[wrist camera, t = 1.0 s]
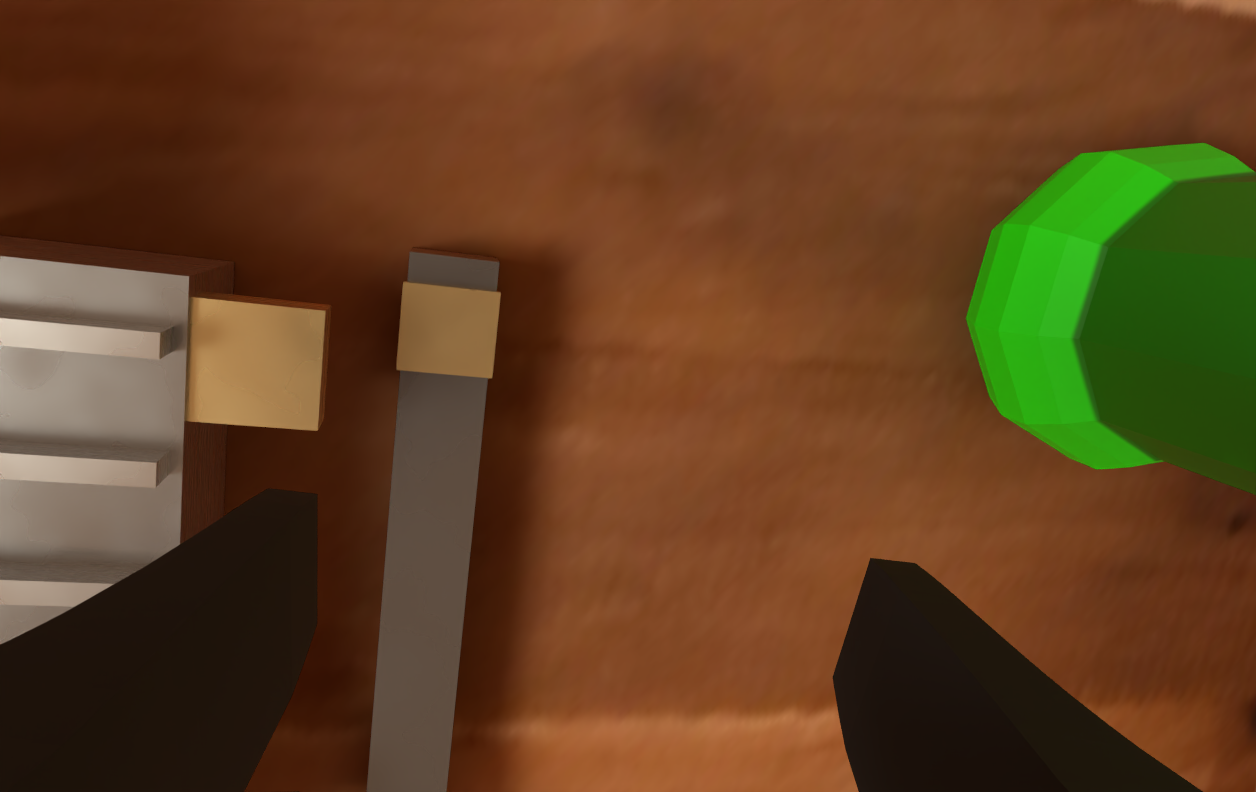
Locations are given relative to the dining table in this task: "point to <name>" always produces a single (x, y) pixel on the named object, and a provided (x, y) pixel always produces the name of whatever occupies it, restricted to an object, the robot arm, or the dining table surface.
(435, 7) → the dining table surface
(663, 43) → the dining table surface
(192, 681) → the robot arm
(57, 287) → the heatsink
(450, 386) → the gray bar
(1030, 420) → the plastic bottle
